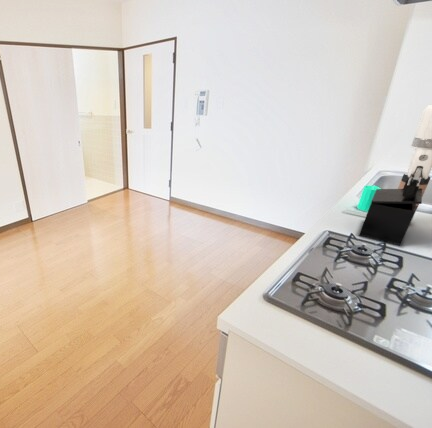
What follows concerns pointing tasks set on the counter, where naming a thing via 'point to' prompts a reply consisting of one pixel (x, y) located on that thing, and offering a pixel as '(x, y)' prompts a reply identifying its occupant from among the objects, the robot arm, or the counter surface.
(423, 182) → the travel mug
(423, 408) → the counter surface
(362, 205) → the candle
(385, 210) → the black flip-top box
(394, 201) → the black hinged box lid
